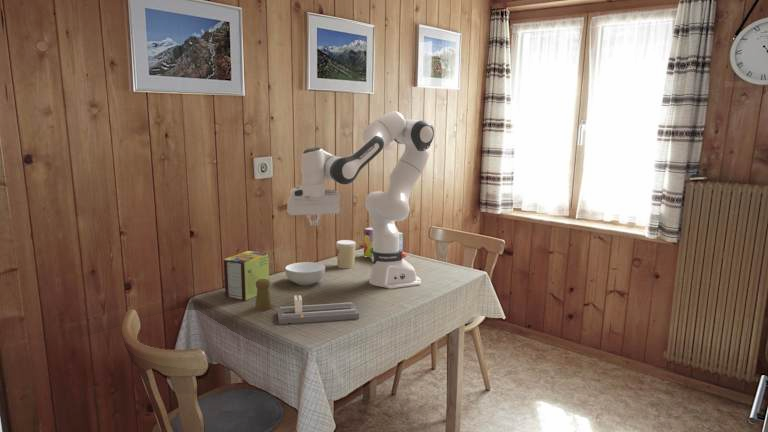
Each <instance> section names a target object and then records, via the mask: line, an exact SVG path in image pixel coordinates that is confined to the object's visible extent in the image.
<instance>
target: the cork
mask: <svg viewBox="0 0 768 432" xmlns="http://www.w3.org/2000/svg"><path fill="white" fill-rule="evenodd" d="M270 286H271V282H270V279H269V280H268V279H259V280H257V281H256V288H257V296H255V307H254V309H255V310H257V311H260V312H261V311H262V312H264V311H270V310H271V309H273V308H272V301H271V295H270Z"/></svg>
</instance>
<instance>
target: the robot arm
mask: <svg viewBox="0 0 768 432" xmlns="http://www.w3.org/2000/svg"><path fill="white" fill-rule="evenodd" d="M404 117H405V116H404V115H403V114H402V113H400V112H399V111H395V110H392V111H389V112H387V113H385V114H383V115H381V116H379V117H378V118H376V119H374V120H373V121H372V122H370V123H369V124H368V125H367V126H366V127H365V129H363V132H362V140H363V143H364V144H363V145H361V147H359V148H358V149H357V150H355V152H354V153H352V154H351V155H349V156H344V157H343V156H338V155H334V154H331V153H330V152H328V151H326V150H324V149H323V148H322V147H309V148H306V149H305V150H304V151H303V152H302V155H301V163H300V164H301V165H300V166H301V167H300V170H301V171H300V172H301V175H302V176H301V177H302V179H301V185H299V186H297V187H293V188H291V189H290V190H289V194H290V195H289V196H288V199H287V205H286V206H287V208H286V209H287V210H286V211H287V212H286V213H287V214H288V215H289V216H306V218H307V219H308V220H309V226H310V227H316V226H317V227H318V226H319V221H320V219H321V217H322V216H321V215H335V214H339V213H340V212H341V207H340V205H341V204H340V199H341V192H340V191H338V190H337V189H326V188H325V187H326V184H325V183H326V180H330V181H331V182H332V181H333V182H336V183H338V184H340V185H348V184H351V183H352V182H354V181H355V180H356V178H357V177H358V175H359V174H360V172H361V171H362V169H363V168H364V167H365V166H367V165H368V164H369V163H370V161H372V160H373V159H374V158H375V157H377V156H378V155H379V154H380V152H381V151H383V149H384V148H386V147H387V146H388V145H390V144H391V143H392V142H393V141H394V142H395V143H397V144H400V145H404V151H403V154H402V155H401V156H400V158H399V159H398V161H397V163H396V165H395V166H394V168H393V170H392V171H391V173H390V175H389V186H388V190H387V191H386V192H385V191H382V190H381V191H380V190H378V191H371V192H370V193H368V194H367V196H366V197H365V201H364V207H365V208H366V210H367V212H368V215H369V219H370V223H371V228H372V229H373V250H372V259H371V262H372V265H371V271H370V277H369V282H368V283H369V284H370V285H372V286H376V287H382V288H386V289H390V290H391V289H397V288H405V287H413V286H419V285H420V286H421V284H422V279H421V278H420V277H419V276H418V275H417V273H416V270H415V268H414V266H413V265H412V264H411V263H410V262H408V261H407V260H406V259H405V258H406V257H407V254H406V253H405V252H404V251H403V250H402V251H400V250H399V232H400V231H399V230H398V228H397V225H396V224H395V222H402V221H404V220H406V219H407V218H408V216H409V215H410V211H411V209H410V197H411V194H412V191H413V188H414V186H415V185H416V183H417V182H418V179H419V178H420V176H421V175H422V172H423V171H424V169H425V166H426V165H427V162H428V159H429V156H430V153H429V150H428V149H429V148H430V147H431V144H432V142H433V140H434V138H435V137H434V136H435V130H434V126H433V125H432V124H431V123H429V122H428V121H426V120H421V119H420V120H419V119H415V118H411V119H410V118H409V119H405V118H404ZM312 215H313V216H314V215H316V220H312V219H311V218H312Z"/></svg>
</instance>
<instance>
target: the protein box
mask: <svg viewBox="0 0 768 432" xmlns="http://www.w3.org/2000/svg"><path fill="white" fill-rule="evenodd" d="M269 260H270V259H269V253H267V252H259V251H254V250H253V251H252V250H246V251H244V252H240V253H238V254H236V255H232V256H230V257H227V258H224V259H223V276H224V293H225V295H224V296H225V298H229V299H233V300H234V299H235V300H239V301H249V300H251V299H253V298H256V296H257V288H256V281H257V280H259V279H268V280H269V281H270V269H269V268H270V265H269V262H270V261H269Z"/></svg>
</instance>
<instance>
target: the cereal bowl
mask: <svg viewBox="0 0 768 432" xmlns="http://www.w3.org/2000/svg"><path fill="white" fill-rule="evenodd" d="M284 269H285V271H284V272H285V276H286V277H287V279H288V280H289V281H291V282H293V283H295V284H297V285H299V286H311V285H313V284H315V283H317V282H319V281H320V280H322V279H323V277H324V275H325V273H326V266H325V265H324V264H322V263H319V262H312V261H311V262H310V261H308V262H307V261H305V262H304V261H303V262H295V263H291V264H288V265H286V266H285V268H284Z"/></svg>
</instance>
